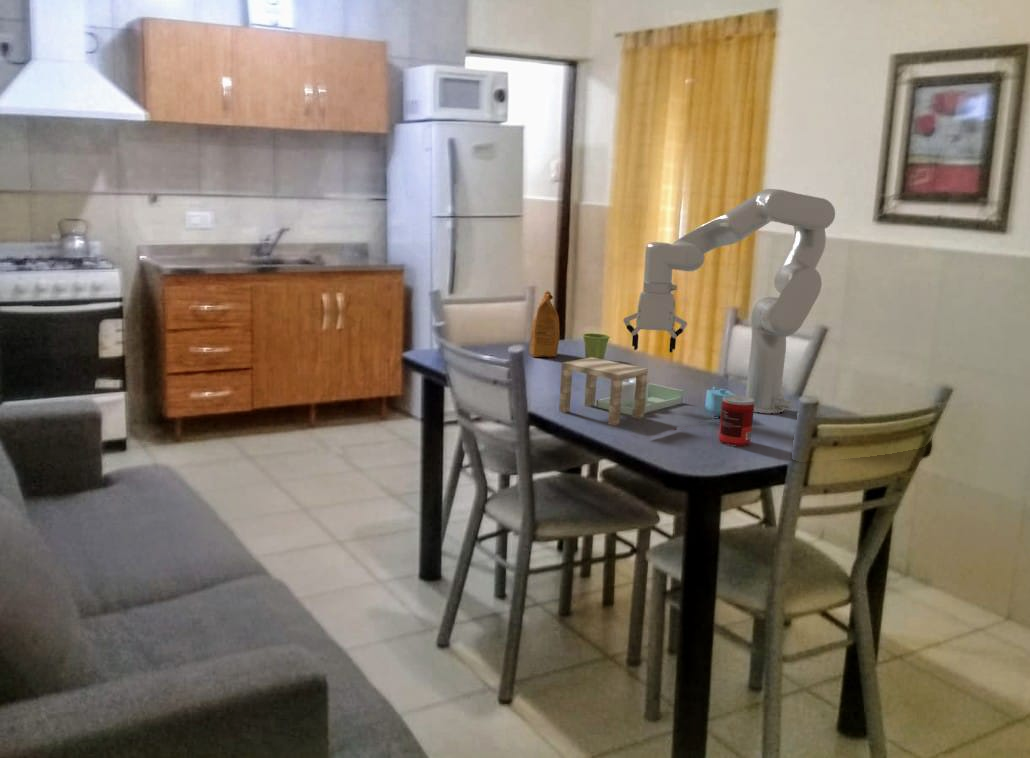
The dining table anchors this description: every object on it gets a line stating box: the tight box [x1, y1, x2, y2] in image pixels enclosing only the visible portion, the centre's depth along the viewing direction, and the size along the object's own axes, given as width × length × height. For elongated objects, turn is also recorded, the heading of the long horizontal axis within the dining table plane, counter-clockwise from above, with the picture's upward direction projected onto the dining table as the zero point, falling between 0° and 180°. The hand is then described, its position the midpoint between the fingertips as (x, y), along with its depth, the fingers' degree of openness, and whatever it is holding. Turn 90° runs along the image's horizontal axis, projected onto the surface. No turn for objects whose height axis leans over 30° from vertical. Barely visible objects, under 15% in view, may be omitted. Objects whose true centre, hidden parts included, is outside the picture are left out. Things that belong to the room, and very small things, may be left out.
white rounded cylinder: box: [621, 381, 635, 408], centre depth 263 cm, size 5×5×7 cm
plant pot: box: [581, 332, 611, 360], centre depth 335 cm, size 9×9×9 cm
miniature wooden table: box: [558, 357, 649, 427], centre depth 255 cm, size 18×13×14 cm
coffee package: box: [529, 290, 561, 358], centre depth 337 cm, size 10×12×22 cm
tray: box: [595, 382, 684, 417], centre depth 269 cm, size 12×24×4 cm, turn 139°
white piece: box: [628, 377, 650, 407], centre depth 268 cm, size 5×5×7 cm
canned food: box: [718, 394, 755, 447], centre depth 238 cm, size 8×8×11 cm
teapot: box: [704, 386, 736, 418], centre depth 266 cm, size 12×6×8 cm, turn 10°
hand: (653, 350), depth 269 cm, fingers open, 9 cm apart
